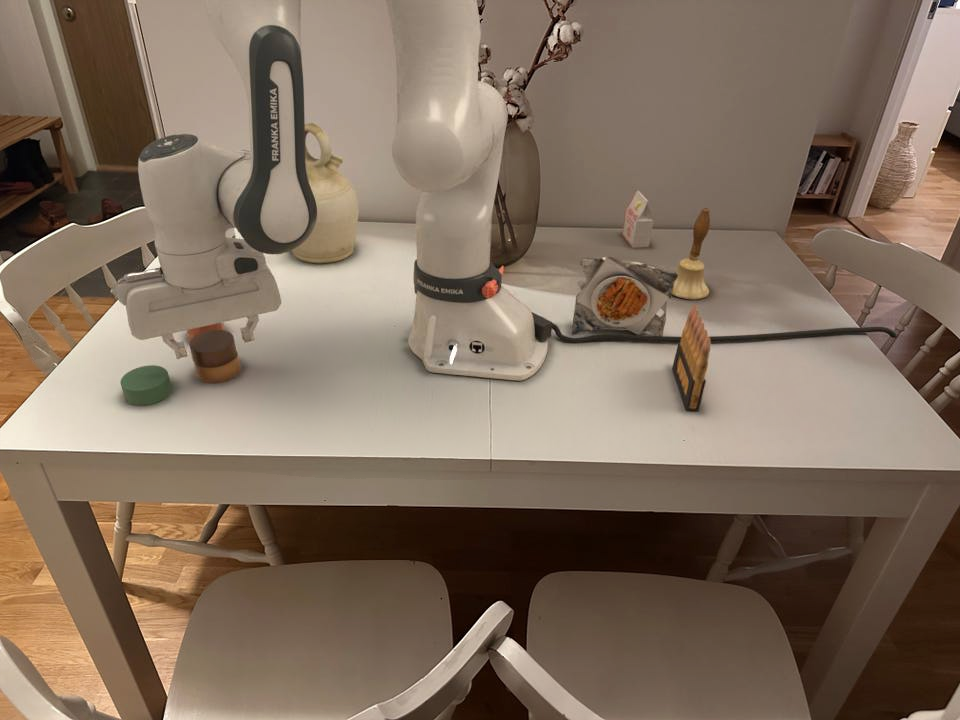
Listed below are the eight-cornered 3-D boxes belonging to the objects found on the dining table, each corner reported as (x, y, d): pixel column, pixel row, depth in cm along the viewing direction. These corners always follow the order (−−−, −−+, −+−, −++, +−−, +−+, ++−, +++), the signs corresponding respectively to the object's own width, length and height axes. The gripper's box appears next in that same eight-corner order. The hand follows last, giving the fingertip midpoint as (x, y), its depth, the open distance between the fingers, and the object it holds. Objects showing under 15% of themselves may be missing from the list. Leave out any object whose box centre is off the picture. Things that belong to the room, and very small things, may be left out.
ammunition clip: (671, 368, 107) (687, 301, 101) (683, 369, 107) (699, 301, 101) (685, 410, 99) (703, 340, 92) (698, 411, 99) (717, 340, 92)
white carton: (638, 234, 151) (645, 190, 145) (648, 247, 145) (657, 201, 140) (622, 234, 150) (629, 190, 145) (632, 247, 145) (639, 202, 139)
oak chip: (248, 364, 105) (246, 349, 103) (224, 386, 100) (221, 371, 98) (213, 356, 106) (210, 341, 105) (188, 378, 101) (184, 363, 100)
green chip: (181, 384, 100) (177, 370, 98) (152, 409, 95) (147, 394, 93) (145, 376, 101) (141, 361, 100) (115, 400, 96) (110, 385, 95)
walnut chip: (245, 348, 104) (242, 334, 102) (220, 371, 99) (216, 355, 97) (210, 341, 105) (206, 326, 104) (183, 362, 100) (179, 347, 99)
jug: (334, 229, 148) (323, 109, 134) (376, 253, 138) (369, 127, 124) (269, 247, 139) (250, 121, 125) (310, 275, 130) (294, 141, 116)
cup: (231, 329, 113) (224, 291, 109) (210, 346, 108) (201, 307, 105) (203, 323, 114) (194, 285, 110) (181, 339, 110) (171, 301, 106)
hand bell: (692, 277, 134) (711, 198, 125) (717, 296, 128) (738, 215, 119) (655, 282, 132) (671, 202, 123) (679, 302, 125) (697, 220, 116)
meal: (571, 335, 115) (580, 264, 107) (572, 323, 118) (581, 253, 111) (662, 346, 113) (678, 274, 105) (661, 332, 116) (676, 262, 109)
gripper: (113, 287, 86) (141, 377, 94) (276, 256, 94) (290, 341, 102) (109, 267, 91) (136, 354, 98) (265, 239, 99) (279, 322, 106)
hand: (215, 347), depth 100 cm, fingers open, 8 cm apart
